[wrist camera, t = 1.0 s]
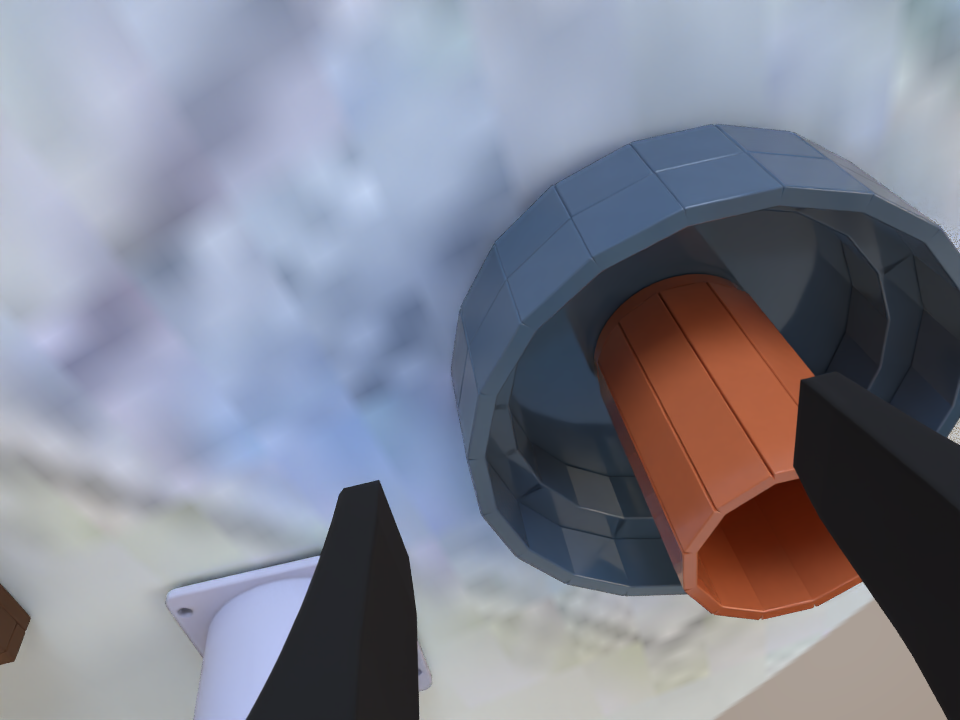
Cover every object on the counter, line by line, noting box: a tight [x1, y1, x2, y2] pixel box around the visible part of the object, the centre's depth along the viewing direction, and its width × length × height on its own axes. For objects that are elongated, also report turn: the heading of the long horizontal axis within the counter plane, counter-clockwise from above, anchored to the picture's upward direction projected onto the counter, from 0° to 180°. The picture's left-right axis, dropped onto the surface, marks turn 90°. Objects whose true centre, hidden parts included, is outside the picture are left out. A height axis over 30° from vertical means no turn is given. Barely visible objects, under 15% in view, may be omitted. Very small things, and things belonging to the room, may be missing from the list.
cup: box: [594, 274, 863, 620], centre depth 21 cm, size 5×5×8 cm
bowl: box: [451, 124, 960, 596], centre depth 23 cm, size 14×14×4 cm
